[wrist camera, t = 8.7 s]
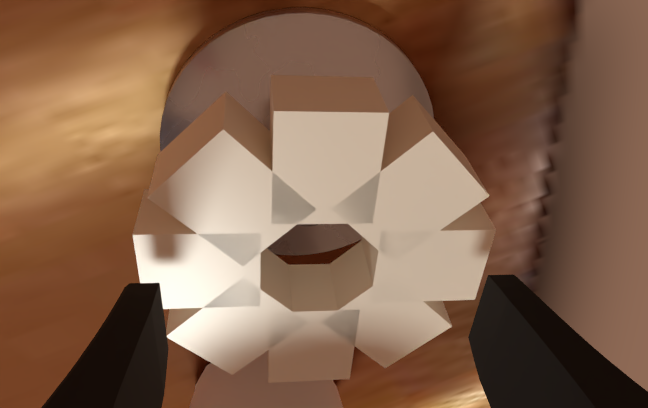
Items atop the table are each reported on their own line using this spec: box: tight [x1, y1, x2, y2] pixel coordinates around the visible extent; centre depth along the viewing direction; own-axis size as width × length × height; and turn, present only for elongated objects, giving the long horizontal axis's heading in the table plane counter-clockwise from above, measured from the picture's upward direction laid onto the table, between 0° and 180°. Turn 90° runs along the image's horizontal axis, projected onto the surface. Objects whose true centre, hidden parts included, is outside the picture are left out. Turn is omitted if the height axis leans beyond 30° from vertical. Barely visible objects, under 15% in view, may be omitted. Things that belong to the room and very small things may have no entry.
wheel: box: [133, 75, 496, 383], centre depth 14 cm, size 8×8×2 cm
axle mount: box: [160, 7, 434, 255], centre depth 17 cm, size 9×9×4 cm
